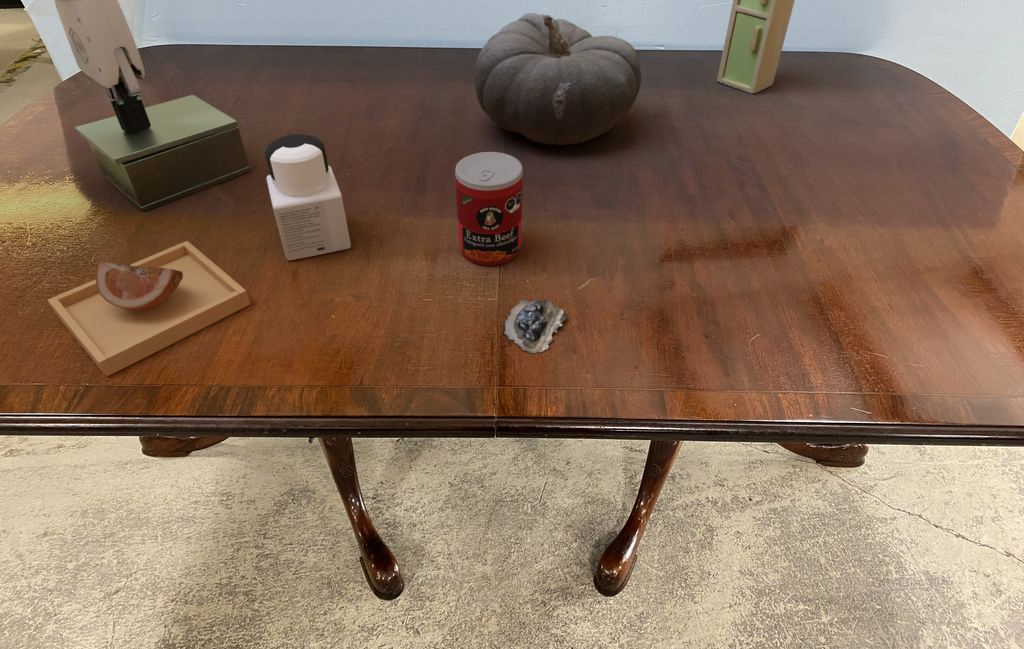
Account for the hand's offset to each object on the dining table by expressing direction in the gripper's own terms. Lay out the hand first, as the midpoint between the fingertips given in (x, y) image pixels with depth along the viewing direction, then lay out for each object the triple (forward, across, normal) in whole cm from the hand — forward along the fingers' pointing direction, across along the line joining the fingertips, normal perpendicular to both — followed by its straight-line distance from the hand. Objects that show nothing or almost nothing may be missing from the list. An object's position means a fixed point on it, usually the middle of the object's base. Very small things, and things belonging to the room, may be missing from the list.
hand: (136, 128), depth 88 cm
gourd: (+8, +28, +54) cm, 61 cm away
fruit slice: (+7, +26, -12) cm, 30 cm away
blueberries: (+8, +58, +15) cm, 61 cm away
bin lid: (+1, 0, +3) cm, 3 cm away
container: (+8, +28, +8) cm, 30 cm away
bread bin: (+8, 0, +3) cm, 9 cm away
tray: (+8, +27, -12) cm, 30 cm away
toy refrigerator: (+8, +40, +90) cm, 99 cm away
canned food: (+8, +44, +22) cm, 50 cm away
